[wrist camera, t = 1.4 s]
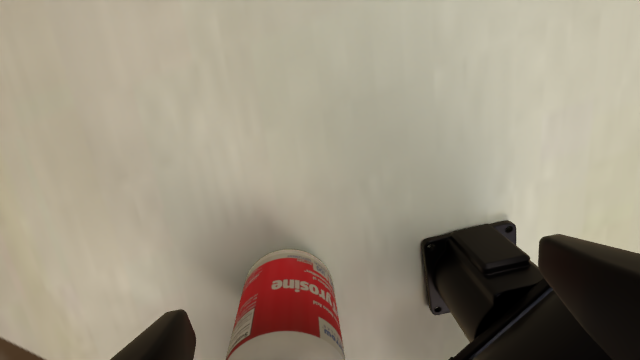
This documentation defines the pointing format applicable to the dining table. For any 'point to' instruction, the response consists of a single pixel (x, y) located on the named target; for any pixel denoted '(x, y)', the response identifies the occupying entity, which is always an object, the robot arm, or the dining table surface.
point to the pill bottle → (287, 311)
